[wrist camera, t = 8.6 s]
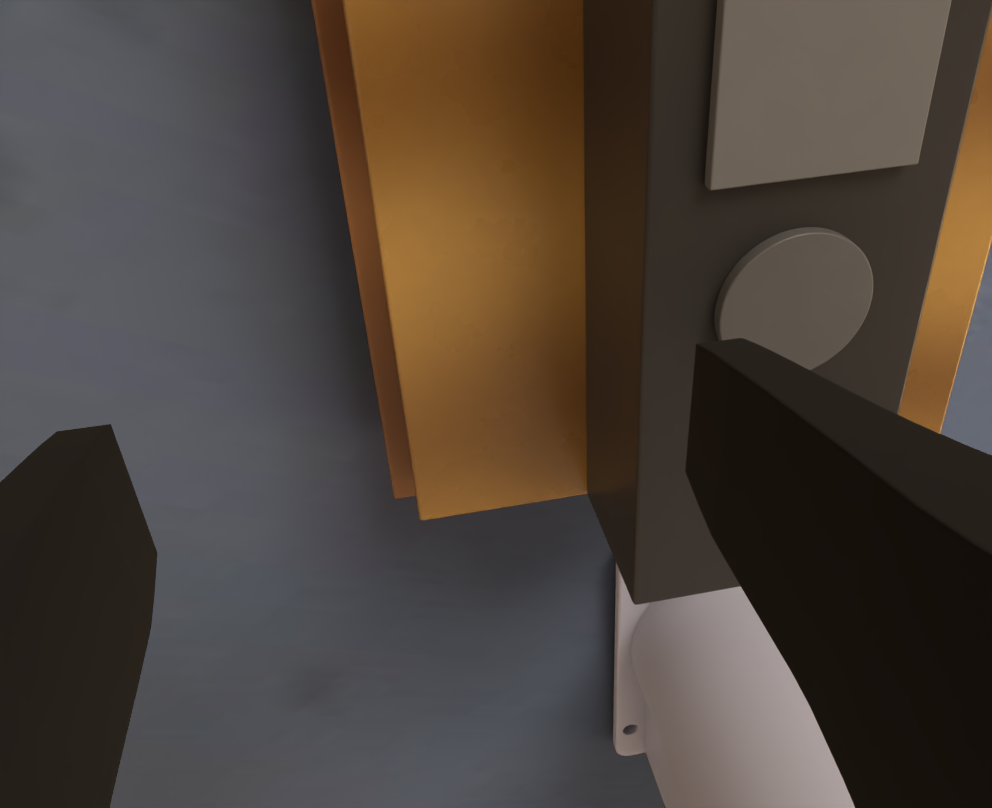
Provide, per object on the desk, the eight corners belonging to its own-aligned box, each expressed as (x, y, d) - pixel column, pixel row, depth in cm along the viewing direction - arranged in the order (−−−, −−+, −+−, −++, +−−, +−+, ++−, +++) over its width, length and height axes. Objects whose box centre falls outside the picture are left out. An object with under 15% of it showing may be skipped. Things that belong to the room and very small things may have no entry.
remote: (786, 460, 20) (872, 574, 17) (586, 493, 19) (637, 616, 16) (925, -466, 11) (1148, -572, 8) (577, -451, 11) (679, -560, 8)
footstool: (867, 365, 24) (956, 451, 20) (386, 438, 22) (399, 544, 19) (1064, -622, 14) (1302, -765, 10) (215, -601, 12) (179, -759, 9)
